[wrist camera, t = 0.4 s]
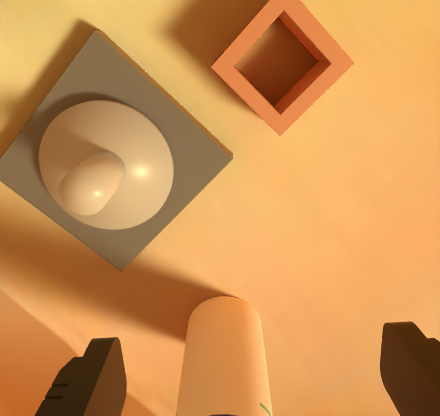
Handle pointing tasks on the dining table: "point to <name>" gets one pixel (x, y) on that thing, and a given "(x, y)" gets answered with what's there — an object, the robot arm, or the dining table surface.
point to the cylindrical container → (224, 362)
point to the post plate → (149, 97)
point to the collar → (308, 85)
